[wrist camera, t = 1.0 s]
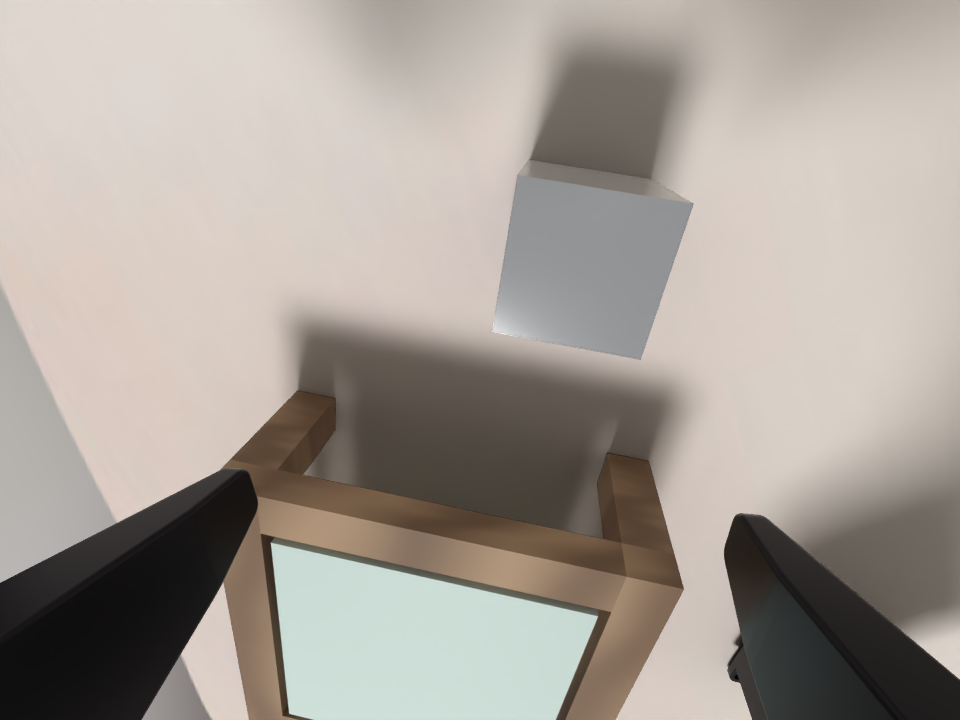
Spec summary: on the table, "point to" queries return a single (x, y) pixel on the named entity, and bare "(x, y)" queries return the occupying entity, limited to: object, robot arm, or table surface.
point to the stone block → (587, 257)
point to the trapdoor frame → (452, 558)
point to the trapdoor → (418, 642)
